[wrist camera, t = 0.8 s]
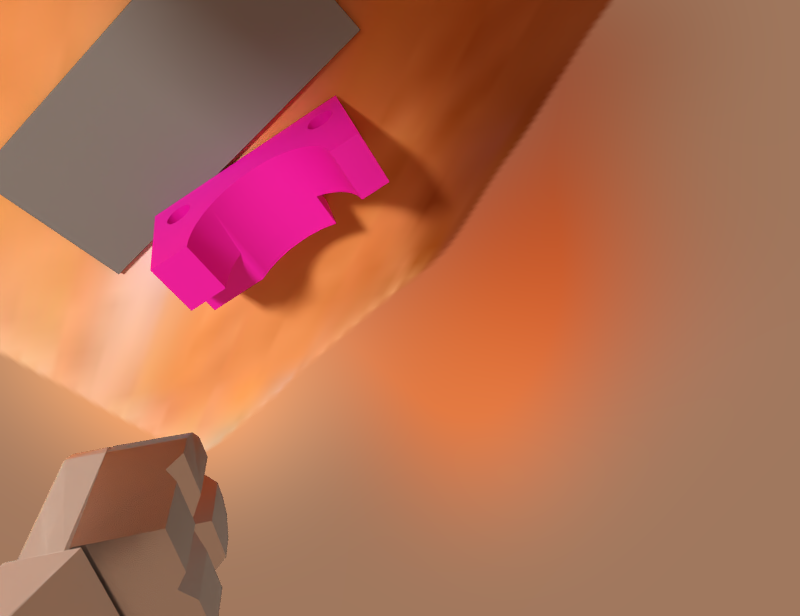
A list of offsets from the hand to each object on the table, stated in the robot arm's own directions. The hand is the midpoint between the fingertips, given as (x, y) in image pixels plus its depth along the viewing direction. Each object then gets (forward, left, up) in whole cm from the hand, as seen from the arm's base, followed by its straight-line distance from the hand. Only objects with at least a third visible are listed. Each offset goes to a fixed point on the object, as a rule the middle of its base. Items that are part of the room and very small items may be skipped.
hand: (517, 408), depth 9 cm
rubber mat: (0, -10, -39) cm, 41 cm away
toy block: (+8, -10, -39) cm, 41 cm away
